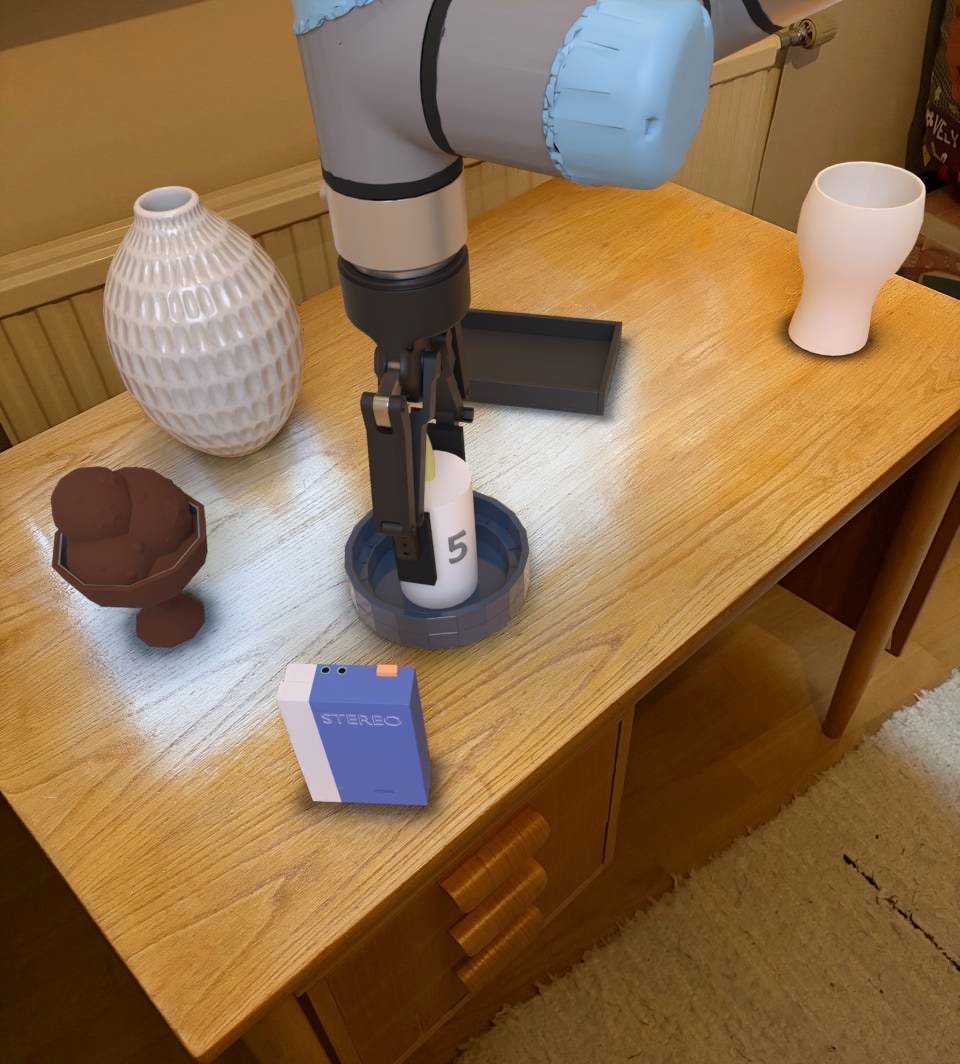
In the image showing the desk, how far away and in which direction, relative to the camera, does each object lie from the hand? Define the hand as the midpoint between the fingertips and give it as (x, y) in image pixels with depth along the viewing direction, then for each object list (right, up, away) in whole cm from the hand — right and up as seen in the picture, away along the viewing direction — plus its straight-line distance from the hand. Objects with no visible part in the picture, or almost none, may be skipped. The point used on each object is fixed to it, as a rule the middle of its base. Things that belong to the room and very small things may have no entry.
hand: (434, 535), depth 69 cm
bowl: (0, -3, +4) cm, 5 cm away
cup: (+39, +23, +24) cm, 51 cm away
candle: (0, -3, +4) cm, 5 cm away
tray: (+7, +19, +22) cm, 30 cm away
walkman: (-4, -18, -7) cm, 20 cm away
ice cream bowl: (-21, -7, +3) cm, 22 cm away
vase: (-20, +12, +18) cm, 29 cm away
